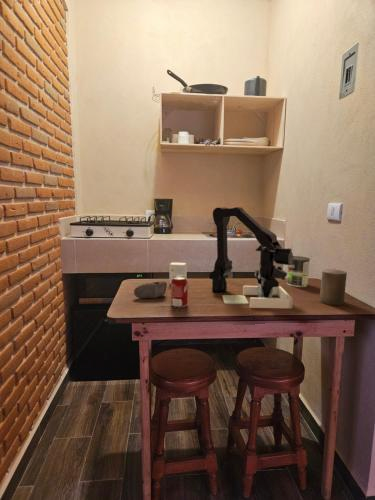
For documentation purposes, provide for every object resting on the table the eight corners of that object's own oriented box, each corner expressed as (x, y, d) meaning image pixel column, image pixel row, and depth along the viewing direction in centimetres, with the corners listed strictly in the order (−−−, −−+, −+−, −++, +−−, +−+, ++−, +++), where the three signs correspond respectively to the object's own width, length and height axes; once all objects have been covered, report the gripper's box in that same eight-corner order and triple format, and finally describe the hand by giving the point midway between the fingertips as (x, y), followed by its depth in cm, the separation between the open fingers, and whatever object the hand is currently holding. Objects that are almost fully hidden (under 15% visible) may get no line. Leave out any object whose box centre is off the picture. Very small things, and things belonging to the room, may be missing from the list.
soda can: (181, 309, 125) (181, 280, 123) (167, 306, 128) (167, 278, 126) (190, 304, 131) (190, 276, 129) (177, 301, 134) (177, 274, 132)
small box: (186, 282, 165) (186, 262, 163) (184, 285, 160) (184, 265, 158) (171, 281, 167) (172, 262, 165) (169, 284, 161) (169, 264, 159)
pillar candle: (345, 306, 130) (348, 271, 128) (319, 303, 134) (322, 269, 131) (342, 300, 139) (345, 267, 137) (318, 297, 143) (321, 265, 140)
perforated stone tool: (134, 300, 135) (134, 285, 134) (133, 297, 140) (133, 281, 139) (168, 298, 139) (168, 283, 138) (166, 294, 144) (166, 280, 143)
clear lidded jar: (292, 287, 158) (293, 260, 155) (283, 282, 168) (285, 256, 165) (311, 287, 159) (313, 259, 156) (302, 281, 169) (303, 255, 166)
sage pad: (224, 303, 132) (224, 302, 132) (222, 296, 142) (222, 295, 142) (248, 304, 132) (248, 302, 132) (244, 296, 142) (244, 295, 142)
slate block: (260, 302, 134) (261, 286, 133) (257, 298, 139) (258, 283, 138) (271, 302, 134) (272, 286, 133) (269, 299, 139) (269, 283, 138)
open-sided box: (250, 307, 128) (250, 298, 127) (242, 294, 146) (243, 285, 145) (292, 308, 128) (293, 299, 127) (280, 294, 146) (280, 286, 145)
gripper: (292, 267, 125) (290, 304, 127) (279, 258, 143) (277, 291, 146) (264, 266, 125) (262, 304, 127) (255, 257, 143) (253, 290, 146)
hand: (264, 297), depth 137 cm, fingers closed on slate block, 5 cm apart
